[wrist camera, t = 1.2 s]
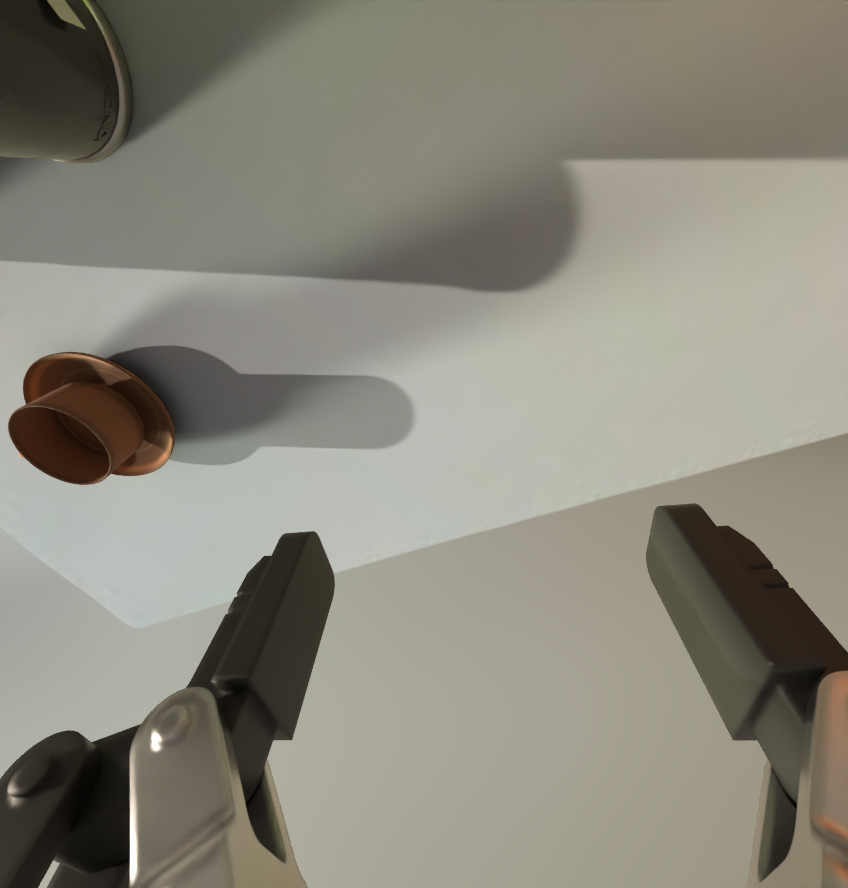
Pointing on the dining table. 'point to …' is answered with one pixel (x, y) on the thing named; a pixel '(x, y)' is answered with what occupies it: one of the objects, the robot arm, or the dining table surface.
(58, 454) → the cup and saucer
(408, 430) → the dining table surface
